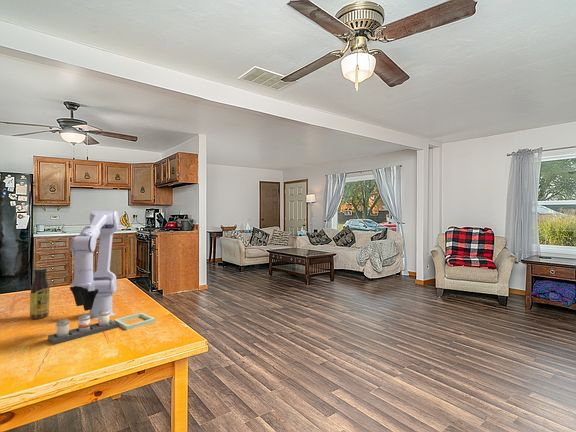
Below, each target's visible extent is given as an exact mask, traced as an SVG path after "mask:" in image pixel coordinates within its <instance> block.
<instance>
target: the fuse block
mask: <svg viewBox="0 0 576 432" xmlns="http://www.w3.org/2000/svg"><path fill="white" fill-rule="evenodd" d="M109 324H110V325H107V326H103V327H99V322H96V323H92V324H91V323H90V330H88V331H84V332H80V333H79V332H78V331H79V330H78V327H75V328H72V329H69V336H65V337H61V338H56V337H57V332H55V333H51V334H48V335H47V340H48V341H49V342H50V343H51V344H52V345H53V346H55V345H59V344H64V343H67V342H71V341H74V340H79V339H81V338H85V337H89V336H92V335H96V334H99V333H104V332H107V331H111V330H114V329H118V327H119V326H118V325H117V323H116V322H114V320H112V319H109Z"/></svg>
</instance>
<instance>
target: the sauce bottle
mask: <svg viewBox="0 0 576 432" xmlns="http://www.w3.org/2000/svg"><path fill="white" fill-rule="evenodd" d="M33 272H34V279H33V280H34V281H33V282H32V283H31V286H30V294H29V295H30V296H29V300H30V301H29V314H30V315H29V318H30V319H32V320H33V319H34V320H36V319H37V320H38V319H45V318H46V317H48V316H49V312H50V286H49V284H48V280H47V268H45V267H43V268H42V267H40V268H34V271H33Z"/></svg>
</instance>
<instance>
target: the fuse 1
mask: <svg viewBox="0 0 576 432" xmlns="http://www.w3.org/2000/svg"><path fill="white" fill-rule="evenodd" d="M55 324H56V325H55V327H56V333H57V337H56V338H61V337H65V336H69V330H70V319H60V320H57V321H56V322H55Z"/></svg>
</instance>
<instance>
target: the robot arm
mask: <svg viewBox="0 0 576 432" xmlns="http://www.w3.org/2000/svg"><path fill="white" fill-rule="evenodd" d="M119 221H120V215H119V212H118V211H117V210H92V211H91V212H90V213H89V224H87V225H85V226H84V227H83V228H82V230H81V232H80V233H79V235H77V236H74V237H72V239H71V242H70V250H71V255H72V258H73V275H74V276H73V277H74V278H73V282H72V283H70V285H69V286H70V287H69V290H70V291H71V293H72V295H73V297H74V301H75V306H76V307H82V306H83V310H84V312H86V311H87V312H88V311H89V313H87V314H86V315H90V318H92V319H94V320H99V319H98V312H100V311H104V310H109V317H111V316H117V314H116V312H113V294H115V292H116V291H117V288H118V287H117V285H118V283H117V275H116V274H115V273H114V272H113V271H111V270H110V269H111V259H112V249H113V248H112V247H113V237H114V233H116V232H118V230H119ZM98 239H99V241H97V240H98ZM97 242H98V243H99V245H98V252H97V253H98V255H97V264H96V271H94V252H95V249H96V246H97Z"/></svg>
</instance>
